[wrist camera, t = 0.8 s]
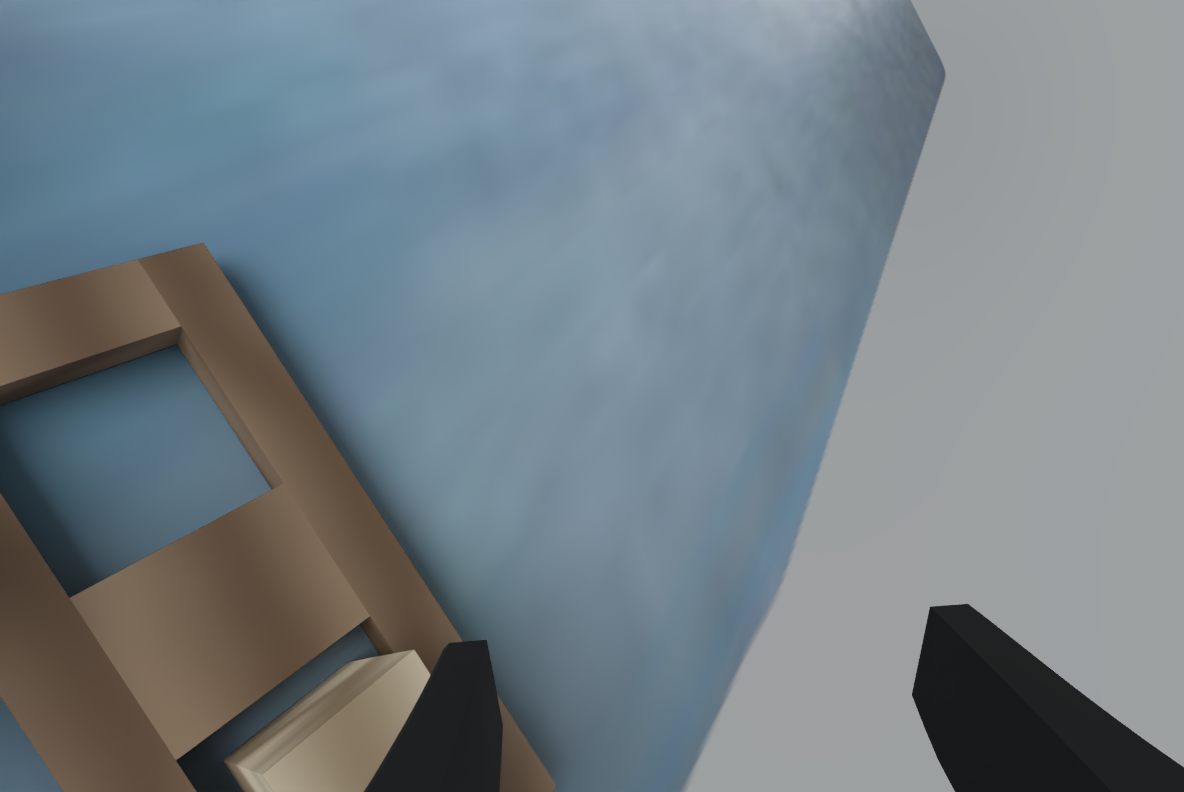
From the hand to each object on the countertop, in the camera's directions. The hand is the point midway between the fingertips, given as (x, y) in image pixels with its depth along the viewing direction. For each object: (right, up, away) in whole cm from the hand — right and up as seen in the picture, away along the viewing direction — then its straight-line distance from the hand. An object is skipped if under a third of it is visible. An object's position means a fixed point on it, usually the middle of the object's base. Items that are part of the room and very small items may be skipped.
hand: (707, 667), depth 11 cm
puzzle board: (-14, -3, +11) cm, 18 cm away
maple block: (-11, -8, +11) cm, 17 cm away
